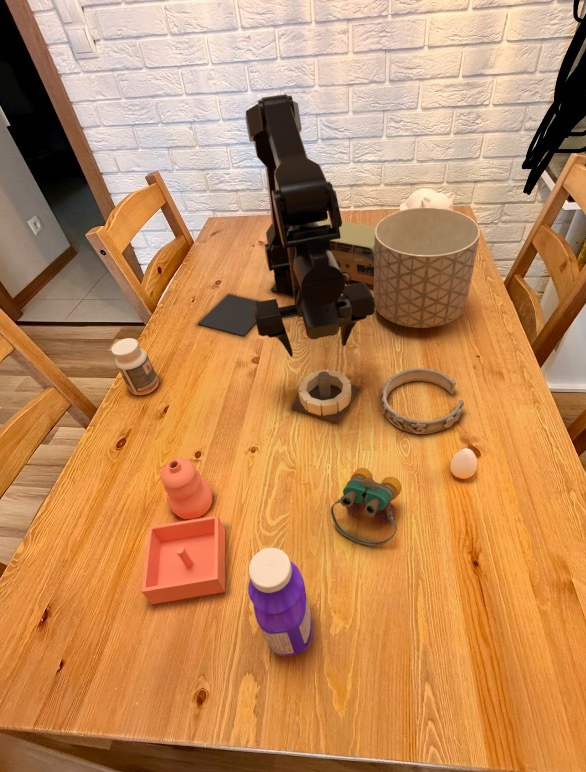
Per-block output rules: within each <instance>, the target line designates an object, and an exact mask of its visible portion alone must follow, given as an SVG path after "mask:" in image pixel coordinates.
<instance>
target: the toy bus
mask: <svg viewBox="0 0 586 772" xmlns="http://www.w3.org/2000/svg"><path fill="white" fill-rule="evenodd" d="M316 223H318V224H319V225H320V226H321V225H327V224H330V225H331V222H330V218H328V219H327V220H325V221H319V222H316ZM331 228H332V226H331ZM375 228H376V226H374V225H368V224H362V223H355V222H350V221H344V220H342V225H341V227H339V230H340V236H341V238H340V239H335V240H329V243H330V250H331V252H332V254H333V256H334V258H335V260H336V262H337V264H338V266H339V268H340V270H341V272H342V274H343V277H344V279H345V284H347V283H348V284H349V283H350V282H351V281H355V282H358V283H361V282H364V283H365V284H366V285H371V286H374V240H375Z"/></svg>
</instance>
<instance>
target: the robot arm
mask: <svg viewBox="0 0 586 772" xmlns="http://www.w3.org/2000/svg"><path fill="white" fill-rule="evenodd" d="M245 124H246V125H245V126H246V130H247V135H248V136H247V137H248V141H249V142H250V143H252V144H253V147H254V150H255V154H256V157H257V158H258V159H259V160H260V162H261V163H262V164H263V165H264V169H265V176H266V185H267V193H268V194H267V195H268V201H269V210H270V216H271V224H270V225H269V227H268V229H267V231H266V233H265V236H266V243H264V254H265V260H266V263H267V267H268V271H269V272H272V271H273V279H274V285H273V286H272V287H271V289H270V291H271V292H272V293H277V294H282V295H286V296H289V297H290V296H292V297H293V301H294V304H290V305H285V306H280V307H279V303H278V299H277V298H272V299H266V300H262V301H260V302H255V304H254V306H253V311H254V315H255V320H256V324H255V325H256V329H257V333H258V335H259V336H260V337H268V338H271V339H272V338H276V339H278V340H279V341H280V343H281V344H282V345H283V347H284V349H285V350H286V352H287V353H288V355H289V357H294V354H293V348H292V345H291V341H290V338H289V336H288V333H287V329H286V327H285V324H284V321H285V322H286V321H289V320H295V319H300V318H302V321H303V325H304V329H305V334H306V336H307V338H308V339H309V340H318V339H320V338H327V337H335V336H336V335H338V333H339V330H340V341H341V346H343V347H346V345H347V342H348V340H349V338H350V337H351V336H350V335H351V334H352V331H353V329H354V327H355V326H356V324H357V323H358V322H360V321H362V320H366V319H367V317H368V316H369V317H370V316H374V314H375V312H376V308H375V301H374V295H373V293H372V292H371V290H370V289H369V286H368V284H367V283H364V282H356V283H351V284H346V282H345V279H344V277H343V274H342V272H341V270H340V268H339V266H338V264H337V262H336V260H335V258H334V256H333V254H332V252H331V250H330V243H329V240H335V239H340V238H341V236H340V230H339V227H341V225H342V221H343V220H342V215H341V210H340V205H339V201H338V196H337V192H336V191H337V190H335V189H334V187H333V183H331V181H330V180H329V181H328V180H327V177H326V176H325V173H324V171H323V169H322V166H321V165H320V164H319V163H317V162H315V161H313V160H311V159H309V157H308V155H307V152H306V149H305V146H304V142H303V139H302V136H301V132H302V130H303V127H302V121H301V113H300V107H299V103H298V102H296V101H294V100H293V96H292V95H288V94H286V93H284V94H277V95H269V96H263V97H261V98H260V99H257V103H256V104H255V105H253V106H252V107H250V108H248V109H247V110H246V111H245ZM327 219H330V222H331V225H330V224H327V225H321V226H320V225H319V224H318V223H316V222H319V221H325V220H327ZM331 226H332V228H331Z"/></svg>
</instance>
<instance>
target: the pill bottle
mask: <svg viewBox="0 0 586 772" xmlns="http://www.w3.org/2000/svg"><path fill="white" fill-rule="evenodd" d="M111 353H112V355H113V357H114V358H115V366H116V368H117V370H118V372H119V373H120V375H121V377H122V379H123V381H124V383H125V384H126V386H127V388H128V390H129V391H130V393H132V394H133V395H135V396H146V395H148V394H151V393H152V392H154V391H155V390H156V389H157V388H158V386H159V382H160V380H159V377H158V375H157V373H156V371H155V369H154V367H153V363H152V362H151V360H150V358H149V356H148V354H147V352H146V351H145V350H144V348H141V346H140V343H139V341H138V340H137V339H135V338H132V337H127V338H123V339H120V340H117V341H116V342H115V343H114V344H113V345H112V347H111Z"/></svg>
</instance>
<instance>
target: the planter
mask: <svg viewBox="0 0 586 772" xmlns="http://www.w3.org/2000/svg"><path fill="white" fill-rule="evenodd" d="M375 227H376V228H375V240H374V285H373V297H374V301H375V311H377V313H378V314H379V315H381V316H382V318H384V319H386V320H387V321H389V322H391V323H393V324H396V325H399V326H402V327H403V326H404V327H409V328H417V329H418V328H419V329H426V328H434V327H441V326H443V325H446V324H449V323H451V322H453V321H455V320H456V319H458V318H459V317H460V316H462V314H463V313H464V312H465V310H466V308H467V303H468V299H469V293H470V287H471V283H472V279H473V278H472V277H473V273H474V267H475V261H476V257H477V253H478V252H477V251H478V247H479V246H478V245H479V241H480V236H481V229H480V226H479V224H478V223H477V222H476V221H475V220H474V219H473V218H472V217H470V216H468V215H466V214H465V213H462V212H460V211H457V210H454V209H453V210H450V209H444V208H436V207H419V208H410V209H405V210H401V211H400V210H397V211H394V212H392V213H390V214H388V215H386V216H384V217H383V218H382V219H381V220H380V221H379V222H378V223H377V224H376V226H375Z"/></svg>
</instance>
